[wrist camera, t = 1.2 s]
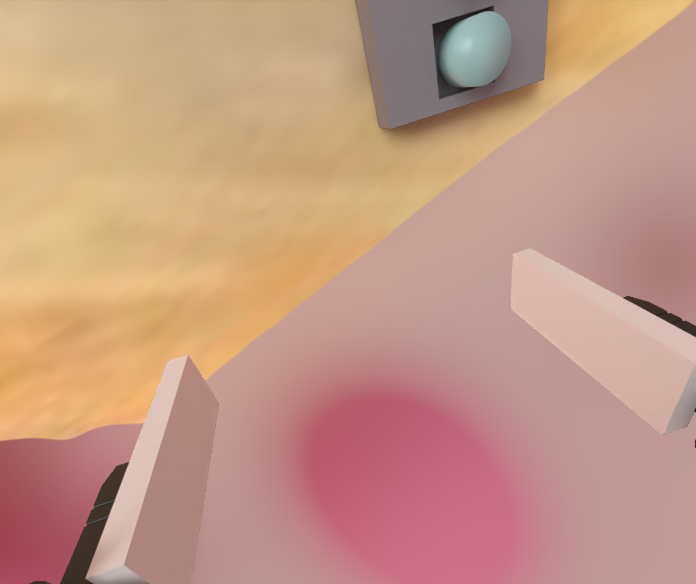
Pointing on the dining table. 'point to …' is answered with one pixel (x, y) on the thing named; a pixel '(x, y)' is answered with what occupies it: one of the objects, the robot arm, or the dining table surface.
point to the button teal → (474, 50)
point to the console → (422, 53)
